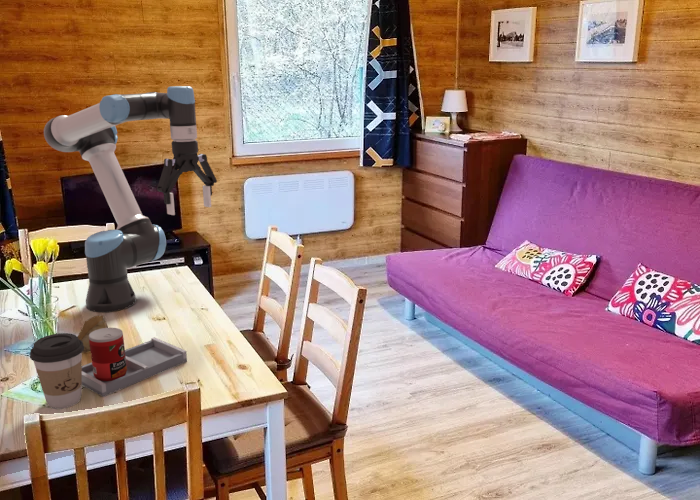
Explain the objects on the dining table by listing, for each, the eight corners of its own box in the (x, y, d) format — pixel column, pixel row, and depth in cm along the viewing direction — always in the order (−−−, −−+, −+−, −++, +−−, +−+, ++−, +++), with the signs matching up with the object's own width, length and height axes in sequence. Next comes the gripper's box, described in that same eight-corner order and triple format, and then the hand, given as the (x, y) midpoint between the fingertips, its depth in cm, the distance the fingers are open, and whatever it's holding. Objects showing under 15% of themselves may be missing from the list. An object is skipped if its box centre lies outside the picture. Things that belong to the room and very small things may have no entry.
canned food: (117, 383, 156) (112, 341, 153) (87, 380, 158) (81, 338, 155) (133, 369, 164) (129, 328, 160) (104, 366, 165) (99, 326, 162)
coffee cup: (51, 419, 143) (41, 356, 138) (28, 402, 150) (19, 342, 146) (100, 399, 151) (92, 340, 147) (76, 384, 158) (68, 327, 154)
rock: (67, 352, 170) (106, 344, 172) (63, 321, 173) (102, 313, 175) (79, 360, 180) (116, 352, 182) (75, 331, 183) (112, 323, 185)
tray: (72, 379, 161) (70, 368, 160) (155, 347, 178) (154, 337, 178) (102, 396, 152) (101, 385, 151) (187, 361, 170) (186, 350, 169)
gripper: (155, 145, 181) (162, 219, 186) (225, 137, 199) (229, 205, 205) (140, 143, 185) (147, 216, 191) (209, 135, 204) (214, 202, 210)
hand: (189, 210), depth 198 cm, fingers open, 13 cm apart
